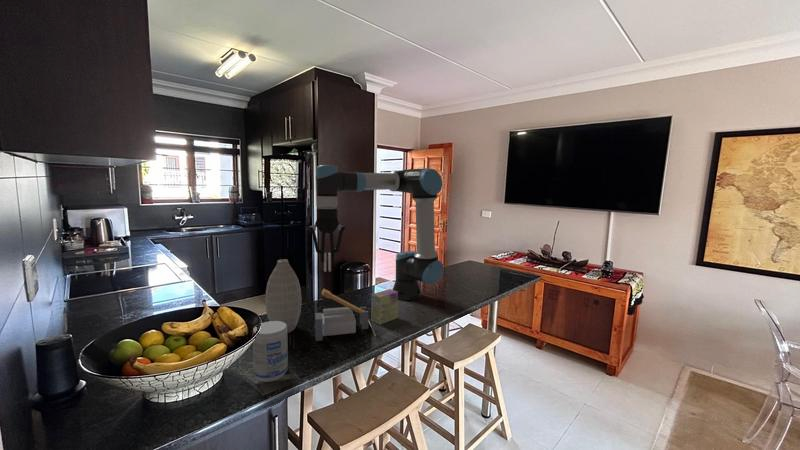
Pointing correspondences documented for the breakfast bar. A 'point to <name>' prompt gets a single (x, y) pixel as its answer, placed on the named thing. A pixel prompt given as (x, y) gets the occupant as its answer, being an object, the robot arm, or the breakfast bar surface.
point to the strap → (340, 301)
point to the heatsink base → (343, 321)
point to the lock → (319, 326)
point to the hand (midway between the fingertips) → (327, 270)
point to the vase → (283, 295)
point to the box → (384, 306)
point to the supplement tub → (270, 351)
